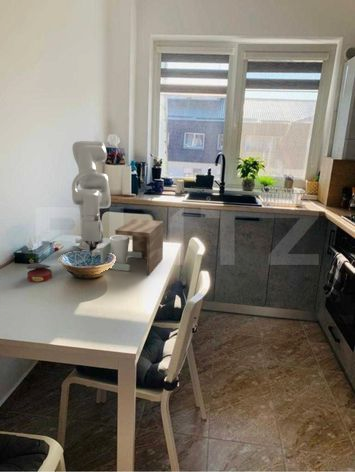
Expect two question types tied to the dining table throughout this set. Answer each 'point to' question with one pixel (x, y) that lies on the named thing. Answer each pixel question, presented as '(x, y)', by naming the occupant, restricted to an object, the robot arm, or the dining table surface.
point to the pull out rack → (106, 249)
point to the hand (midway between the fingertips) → (93, 253)
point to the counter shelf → (145, 240)
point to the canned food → (39, 272)
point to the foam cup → (120, 248)
